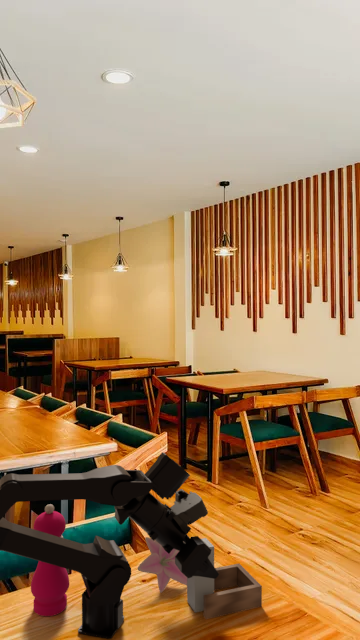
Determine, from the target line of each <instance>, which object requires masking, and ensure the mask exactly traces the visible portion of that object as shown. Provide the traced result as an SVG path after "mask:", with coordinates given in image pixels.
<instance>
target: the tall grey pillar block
mask: <svg viewBox="0 0 360 640" xmlns="http://www.w3.org/2000/svg"><path fill="white" fill-rule="evenodd" d="M201 539H202V540H203V541H204V542H205V543H206V544H207V545H208V547H209V548H210V549H211V554H210V555H209V556H208V559H209V560H210V562H211V563H212V564H213V566H214V567H215V546H214V545H213V543H211V541H209V539H207V537H203V538H201ZM212 593H215V590H214V579H213V578H206V577H200V576H192V577H191V578H187V586H186V594H187V597H186V598H187V599H186V601H187V604H188V605H189V606H190V608H191V609H192V611H193V612H194V613H200V612H204V595H207V594H212Z"/></svg>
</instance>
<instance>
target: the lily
mask: <svg viewBox="0 0 360 640" xmlns="http://www.w3.org/2000/svg"><path fill="white" fill-rule="evenodd" d="M145 542H146V546H147V547H148V549H149V550H148V551H149V552H150V555H148V556H147V557H146V558H145V559H144V560H143V561H142V562H141V563H140V564H139V565H138V567H137V570H138V571H139V572H142V573H146V574H153V575H156V579H157V585H158V591H159V593H160V594H161V593H163V592H164V591H165V589H166V588H167V586H168V584H169V583H170V580H171V579H172V580H173V581H175V582H177V583H179V584H181V585H184V586H186V587H187V577H186V576H185V575H184V574H183V573H182V572H181V571H180V570H179V568H178V567H177V566H176V564H175V556H176V555H177V554H178V552H179V550H176V549H173V550H172V551H171V552H170V553H169V554H168V553H167V552H166V551H165V550H164V548H163V547H162V546H161V545H160V544H159V543H158V542H157V541H156V540H154V541H153V540H152V539H151V538H150V537H149V536H146V537H145Z"/></svg>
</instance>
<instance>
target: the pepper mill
mask: <svg viewBox="0 0 360 640" xmlns="http://www.w3.org/2000/svg"><path fill="white" fill-rule="evenodd" d="M33 529H34V530H38V531H41V532H44V533H48V534H51V535H54V536H58V537H61V538H64V536H63V534H64V533H65V531H66V519H65V517H64V515H63V514H61V513H60V512H58V511H56V510H55V506H54V505H53V504H51V503H50V504H47V505H46V506H44V512H41V513H40V514H39V515H38V516H37V517H36V518H35V519H34V523H33ZM37 561H38V560H37ZM69 588H70V578H69V574H68V569H66V568H62V567H59V566H55V565H52V564H48V563H45V562H41V561H38V563H37V566H36V569H35V571H34V573H33V575H32V577H31V582H30V592H31V594H32V596H34V598H33V612H34V613H35V614H37V615H38V616H41V617H52V616H56V615H59V614H60V613H62V612H63V611H65V610H66V608H67V607H68V595H67V594H66V593H67V592H68V590H69Z"/></svg>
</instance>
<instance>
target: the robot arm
mask: <svg viewBox="0 0 360 640" xmlns="http://www.w3.org/2000/svg"><path fill="white" fill-rule="evenodd" d="M190 476H191V474H190V473H189V472H187V470H186V469H184V467H183V466H181V465H180V464H179V463H177V462H176V461H175V460H173V459H172V458H171V457H170V456H169V455H167V454H166V453H165V452H164V451H163V452H161V453H160V454H159V455H158V457H157V459H156V460H155V462H153V464H152V465H151V466H150V467H149V469H148V470H147V471H146V472H145V473H144V472H143V470H139V469H125V468H124V467H123V466H121V465H118V464H111V465H106V466H102V467H97V468H93V469H92V470H89V471H87V472H86V471H85V472H82V473H79V472H78V473H40V474H39V473H38V474H37V473H36V474H35V473H34V474H31V473H30V474H17V473H7V474H5V475H3V476H2V477H1V478H0V551H2V552H6V553H9V554H14V555H17V556H20V557H25V558H27V559H31V560H34V561H41V562H45V563H48V564H52V565H55V566H59V567H62V568H66V570H70V571H73V572H77V573H78V574H81V578H82V580H83V583H84V586H85V590H84V591H83V592H82V594H81V625H80V626H79V628H78V629H77V633H78V634H79V635H86V636H92V637H97V638H101V639H107V640H108V639H112V638H113V637H114V635H115V634H116V633H117V631H118V630H119V628H120V627H121V626H122V624H123V622H124V621H125V615H124V600H123V599H121V597H122V594H123V591H124V588H125V587H126V586H127V584H128V583H129V581H130V580H131V576H132V568H131V566H130V565H131V564H130V563H129V561H128V559H127V558H126V556H125V553H124V551H123V550H122V548H120V547H119V545H117V543H116V541H115V540H113V539H112V540H111V539H110V540H108V539H104V538H102V537H100V536H98V535H95V536H94V539H93V542H91V543H81V542H77V541H74V540H70V539H67V538H64V537H63V538H61V537H58V536H54V535H51V534H48V533H44V532H41V531H38V530H34V528H30V527H27V526H24V525H20V524H17V523H13V522H11V521H9V520H7V519H6V518H5V517H4V516H5V515H6V514H7V512H8V511H10V509H11V508H12V507H13V506H14V505H16V503H19V502H20V503H21V502H25V503H26V502H43V501H44V502H47V501H48V502H49V501H51V502H52V501H74V500H86V501H90V502H93V503H96V504H100V505H105V506H106V505H107V506H113V507H114V510H115V511H114V518H115V520H116V521H117V523H118V524H119V525H123V524H124V522H126V521H127V519H128V518H129V519H130V520H132V521H133V523H135V524H136V525H137V526H139V527H140V528H141V529H142V530H143V531H144V532H145V533H146V534H147V536H148V538H151V539H152V540H153V541H154V540H156V541H157V542H158V543H159V544H160V545H161V546H162V547H163V548H164V550H165V551H166V552H167V553H168V554H169V553H170V552H171V551H172V550H173V549H176V550H179V552H178V554H177V555H176V556H175V564H176V566H177V567H178V568H179V570H180V571H181V572H182V573H183V574H184V575H185V576H186V577H187V578H191V577H192V576H200V577H206V578H213V579H216V578H217V577H218V575H219V573H218V572H217V570H216V569H215V568H216V567H215V565H214V566H213V564H212V563H211V562H210V560H209V559H208V556H209V555H210V554H211V549H210V548H209V547H208V545H207V544H206V543H205V542H204V541H203V540H202V539H203V538H201V537H199V535H196V536H189V535H188V533H189V532H190V531H191V530H192V528H191V527H190V525H192V524H194V523H195V522H197V521H199V520H200V519H201V518H205V517H206V516H207V515H208V514H209V511H208V509H207V507H206V505H205V503H204V500H203V499H202V497H201V496H200V495H199V494H197V492H192V491H189V493H188V492H187V491H185V490H184V489H183V488H181V486H182V485H184V483H185V482H186V481H187V480H188V478H189V477H190ZM180 488H181V489H180ZM151 491H153V492H154V493H155V494H156V495H157V496H158V497H160V499H161V500H164V498H165V499H166V500H170V499H172V497H173V496H174V495H175V496H174V497H175V499H174V501H173V503H174V504H173V505H172V506H171V507H170V506H169V505H167V504H166V503H165V504H164V503H163V502H161V501H160V500H159V499H157V498H156V496H155V495H153V494H152V493H151Z"/></svg>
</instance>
